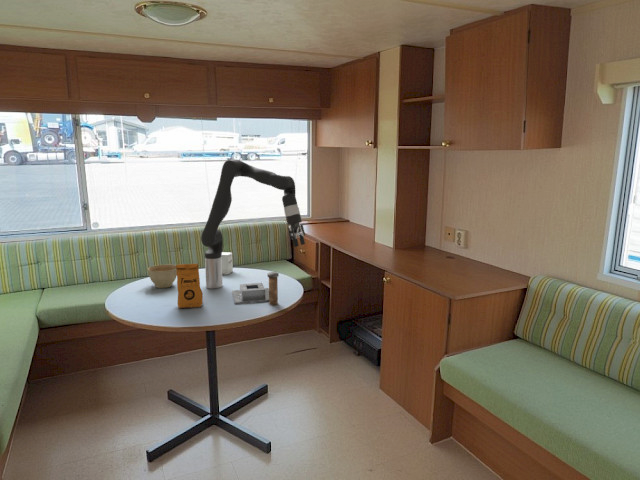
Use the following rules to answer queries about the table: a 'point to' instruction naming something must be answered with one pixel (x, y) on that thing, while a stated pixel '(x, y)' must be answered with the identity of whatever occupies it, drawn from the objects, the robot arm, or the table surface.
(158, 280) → the planter bowl
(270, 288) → the walnut pin
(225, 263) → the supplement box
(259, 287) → the socket block
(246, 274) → the table surface
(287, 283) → the table surface
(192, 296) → the coffee package
